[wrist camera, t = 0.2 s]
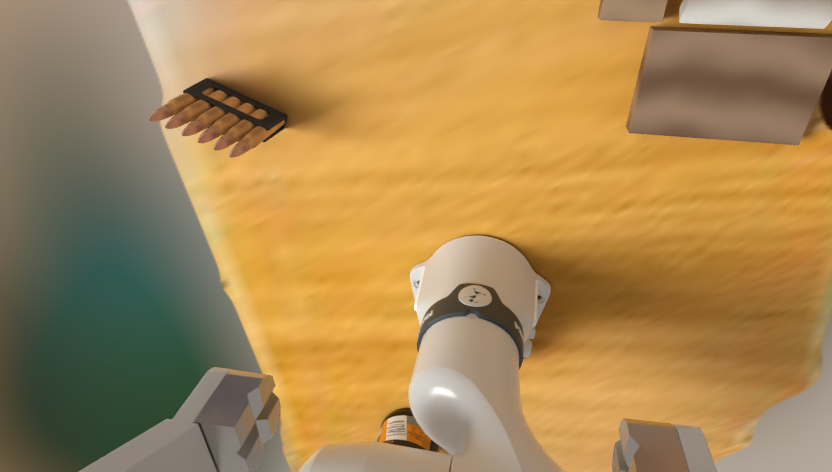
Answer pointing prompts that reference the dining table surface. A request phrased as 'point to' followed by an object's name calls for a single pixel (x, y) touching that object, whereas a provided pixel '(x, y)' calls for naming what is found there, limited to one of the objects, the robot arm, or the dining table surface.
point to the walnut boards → (723, 79)
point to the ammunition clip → (221, 117)
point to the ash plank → (758, 12)
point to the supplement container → (405, 432)
